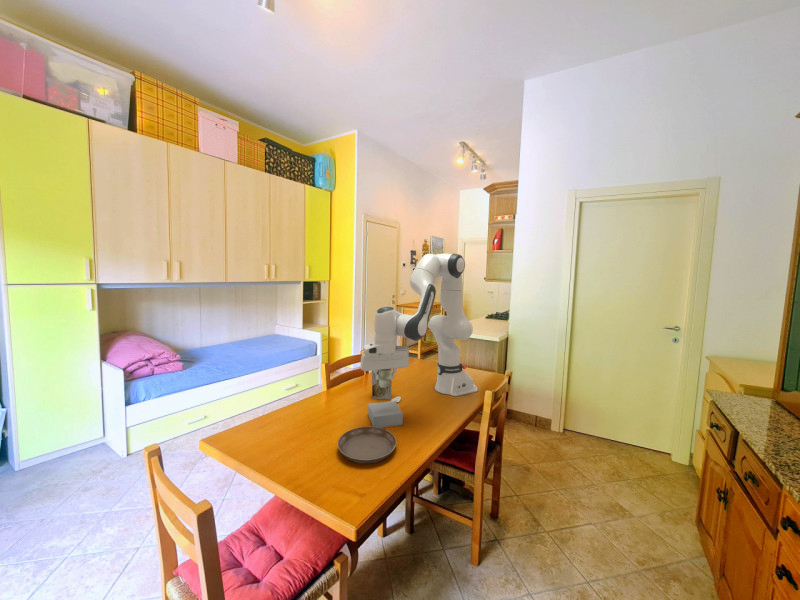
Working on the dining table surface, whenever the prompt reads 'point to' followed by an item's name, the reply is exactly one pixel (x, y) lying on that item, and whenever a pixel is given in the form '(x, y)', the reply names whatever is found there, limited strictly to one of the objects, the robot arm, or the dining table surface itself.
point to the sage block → (385, 378)
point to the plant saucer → (367, 444)
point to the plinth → (385, 414)
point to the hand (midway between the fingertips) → (385, 379)
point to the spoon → (396, 399)
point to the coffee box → (379, 389)
